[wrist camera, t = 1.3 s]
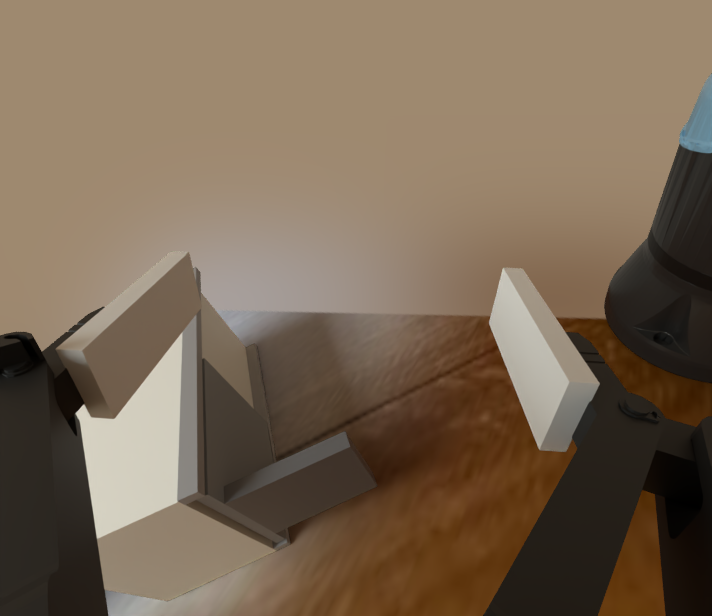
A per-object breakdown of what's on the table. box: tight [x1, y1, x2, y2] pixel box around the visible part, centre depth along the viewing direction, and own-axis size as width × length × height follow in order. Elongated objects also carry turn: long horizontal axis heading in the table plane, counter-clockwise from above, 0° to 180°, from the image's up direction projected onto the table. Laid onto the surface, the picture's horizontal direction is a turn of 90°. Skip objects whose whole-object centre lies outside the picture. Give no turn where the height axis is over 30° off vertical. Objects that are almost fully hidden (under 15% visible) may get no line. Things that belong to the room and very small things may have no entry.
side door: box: [197, 358, 377, 543], centre depth 32 cm, size 10×12×12 cm
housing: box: [75, 267, 290, 601], centre depth 36 cm, size 11×24×14 cm, turn 19°
